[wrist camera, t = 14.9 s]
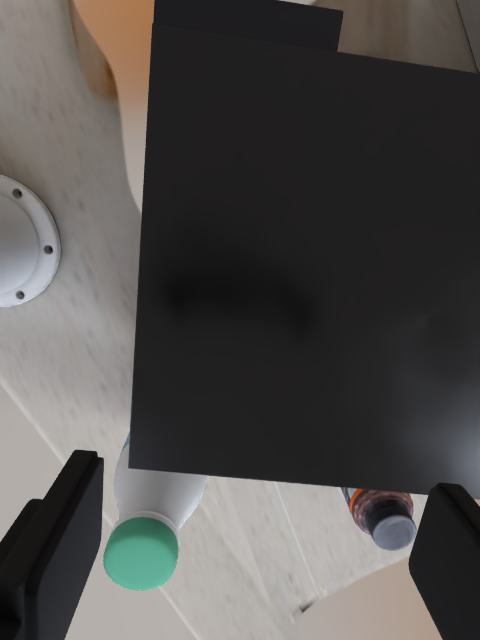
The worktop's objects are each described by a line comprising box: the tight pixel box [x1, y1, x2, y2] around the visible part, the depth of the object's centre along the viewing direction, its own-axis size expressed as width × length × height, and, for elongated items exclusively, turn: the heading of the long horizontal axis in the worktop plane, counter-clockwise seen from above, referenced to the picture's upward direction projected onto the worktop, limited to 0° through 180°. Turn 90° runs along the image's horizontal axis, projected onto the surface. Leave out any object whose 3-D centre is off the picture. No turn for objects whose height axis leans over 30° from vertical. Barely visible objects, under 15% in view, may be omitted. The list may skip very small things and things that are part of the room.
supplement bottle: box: [341, 487, 416, 551], centre depth 41 cm, size 6×6×11 cm
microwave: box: [128, 0, 480, 499], centre depth 30 cm, size 24×30×20 cm
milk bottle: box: [103, 432, 207, 591], centre depth 34 cm, size 8×8×20 cm
